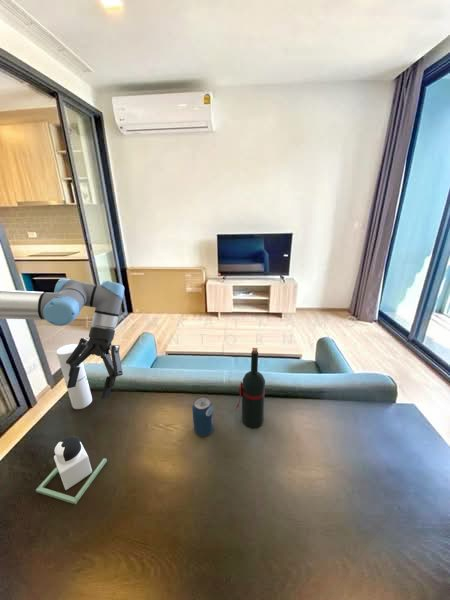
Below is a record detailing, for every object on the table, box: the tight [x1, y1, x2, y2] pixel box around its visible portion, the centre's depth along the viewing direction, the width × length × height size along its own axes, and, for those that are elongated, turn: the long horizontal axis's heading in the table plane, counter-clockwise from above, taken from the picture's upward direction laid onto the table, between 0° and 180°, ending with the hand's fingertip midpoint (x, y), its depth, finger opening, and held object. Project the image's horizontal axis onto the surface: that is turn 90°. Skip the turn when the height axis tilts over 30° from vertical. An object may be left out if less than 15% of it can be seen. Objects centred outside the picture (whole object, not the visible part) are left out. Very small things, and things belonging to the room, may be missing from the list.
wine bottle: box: [235, 347, 266, 430], centre depth 86 cm, size 8×10×30 cm
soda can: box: [191, 396, 214, 437], centre depth 86 cm, size 7×7×12 cm
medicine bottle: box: [53, 435, 93, 491], centre depth 72 cm, size 7×7×12 cm
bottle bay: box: [35, 457, 108, 505], centre depth 73 cm, size 13×12×1 cm
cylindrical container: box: [56, 343, 93, 410], centre depth 96 cm, size 7×7×25 cm
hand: (88, 392), depth 81 cm, fingers open, 13 cm apart
